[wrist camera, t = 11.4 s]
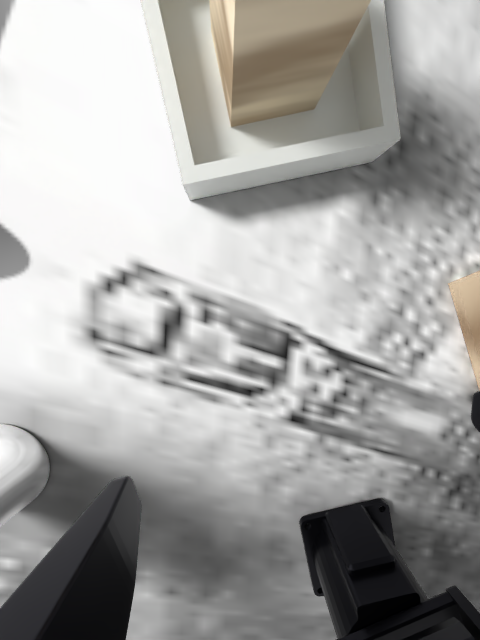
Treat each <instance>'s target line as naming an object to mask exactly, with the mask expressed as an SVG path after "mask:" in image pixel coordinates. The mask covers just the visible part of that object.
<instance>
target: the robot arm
mask: <svg viewBox="0 0 480 640" xmlns="http://www.w3.org/2000/svg"><path fill="white" fill-rule="evenodd" d="M471 420H472V423H473V425H474V426H475V428H476V429H477V430H478V431H479V432H480V391H477V392H475V393H474V395H473V400H472V411H471ZM380 506H382V507H381V508H379V507H380ZM140 520H141V501H140V498H139V495H138V493H137V490H136V488H135V485H134V483H133V480H132V478H131V477H130V476H124V477H120V478H116V479H113V480H111V481H110V482H109V483H108V485H107V486H106V487H105V488H104V489H103V490H102V492H101V493H100V494H99V495H98V496H97V497H96V498H95V500H94V501H93V502H92V503H91V504H90V505H89V506H88V508H87V509H86V510H85V511H84V512H83V513H82V515H81V516H80V517H79V518H78V519H77V520H76V521H75V523H74V524H73V525H72V526H71V527H70V528H69V529H68V531H67V532H66V533H65V534H64V535H63V536H62V538H61V539H60V540H59V541H58V542H57V543H56V544H55V546H54V547H53V548H52V549H51V550H50V551H49V552H48V554H47V555H46V556H45V557H44V558H43V559H42V560H41V562H40V563H39V564H38V565H37V566H36V567H35V569H34V570H33V571H32V572H31V573H30V574H29V575H28V577H27V578H26V579H25V580H24V581H23V582H22V583H21V585H20V586H19V587H18V588H17V589H16V590H15V592H14V593H13V594H12V595H11V596H10V597H9V598H8V600H7V601H6V602H5V603H4V604H3V605H2V606H1V608H0V640H126V635H127V629H128V623H129V617H130V612H131V606H132V600H133V594H134V587H135V579H136V568H137V556H138V544H139V532H140ZM307 523H309V524H308V525H305V524H307ZM299 524H300V529H301V534H302V538H303V543H304V548H305V553H306V558H307V562H308V567H309V572H310V577H311V582H312V587H313V590H314V593H315V595H317V596H324V597H325V600H326V603H327V606H328V609H329V613H330V616H331V619H332V622H333V625H334V629H335V632H336V635H337V638H338V639H336V640H480V613H479V612H478V611H477V610H476V609H475V608H474V606H473V605H472V604H471V603H470V602H469V601H468V600H467V599H466V597H465V596H464V595H463V594H462V593H461V592H460V591H459V589H458V588H457V587H456V586H452V587H450V588H448V589H446V592H444V593H442V594H440V595H438V596H435V597H433V598H431V599H428V598H427V597H426V595H425V594H424V592H423V591H422V589H421V587H420V586H419V584H418V583H417V581H416V579H415V578H414V576H413V575H412V573H411V572H410V570H409V568H408V567H407V565H406V564H405V562H404V561H403V559H402V557H401V556H400V554H399V553H398V551H397V549H396V548H395V544H394V537H393V531H392V524H391V518H390V512H389V507H388V505H387V503H386V502H385V501H384V500H383V499H375V500H371V501H367V502H362V503H358V504H354V505H350V506H345V507H341V508H337V509H332V510H328V511H324V512H320V513H315V514H311V515H307V516H304V517H302V518H301V519H300V521H299Z"/></svg>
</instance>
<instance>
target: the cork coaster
mask: <svg viewBox="0 0 480 640" xmlns="http://www.w3.org/2000/svg"><path fill="white" fill-rule="evenodd" d="M449 288H450V291H451V295H452V298H453V302H454V305H455V309H456V312H457V315H458V319H459V322H460V326H461V329H462V333H463V336H464V339H465V343H466V346H467V350H468V353H469V357H470V360H471V363H472V367H473V370H474V374H475V377H476V381H477V384H478V388H479V391H480V271H478V272H476V273H473V274H471V275H468V276H466V277H463V278H461V279H458V280H456V281H454V282H451V283H449Z"/></svg>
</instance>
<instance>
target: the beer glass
mask: <svg viewBox="0 0 480 640" xmlns="http://www.w3.org/2000/svg"><path fill="white" fill-rule="evenodd" d="M49 473H50V464H49V459H48V456H47V453H46V451H45V449H44V447H43V446H42V444H41V443H40V442H39V441H38V440H37V439H36V438H35V437H34V436H33V435H31V434H30V433H29V432H27V431H25V430H23V429H21V428H19V427H16V426H12V425H6V424H0V528H1V527H2V526H3V525H4V524H5V523H6V522H7V521H8V520H9V519H11V518H12V517H13V516H14V515H16V514H17V513H18V512H19V511H21V510H22V509H23V508H24V507H26V506H27V505H28V504H29V503H31V502H32V501H33V500H34V499H35V498H36V497H37V496H38V495H39V494H40V493H41V492H42V490H43V489H44V487H45V485H46V483H47V481H48V478H49Z"/></svg>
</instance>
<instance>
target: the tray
mask: <svg viewBox="0 0 480 640" xmlns="http://www.w3.org/2000/svg"><path fill="white" fill-rule="evenodd" d="M140 1H141V5H142V10H143V14H144V18H145V23H146V27H147V31H148V36H149V40H150V44H151V49H152V53H153V58H154V62H155V66H156V71H157V75H158V79H159V84H160V88H161V92H162V97H163V101H164V105H165V110H166V114H167V118H168V123H169V127H170V131H171V136H172V140H173V145H174V149H175V153H176V158H177V162H178V166H179V171H180V175H181V179H182V184H183V186H184V189H185V191H186V193H187V195H188V197H189V200H195V199H200V198H204V197H209V196H214V195H219V194H223V193H228V192H233V191H238V190H242V189H247V188H252V187H257V186H261V185H266V184H271V183H276V182H280V181H285V180H290V179H294V178H299V177H304V176H309V175H313V174H318V173H323V172H328V171H332V170H337V169H342V168H347V167H351V166H356V165H361V164H366V163H370V162H373V161H374V160H375V159H377V158H378V157H379V156H380V155H382V154H383V153H384V152H385V151H387V150H388V149H389V148H390V147H392V146H393V145H394V144H395V143H397V142H398V141H399V140H400V139H401V136H400V128H399V120H398V111H397V103H396V95H395V87H394V79H393V71H392V63H391V54H390V46H389V38H388V30H387V22H386V14H385V5H384V0H371V1H370V3H369V5H368V7H367V9H366V11H365V13H364V15H363V17H362V19H361V21H360V23H359V24H358V26H357V28H356V30H355V32H354V34H353V36H352V38H351V40H350V42H349V44H348V46H347V48H346V49H345V51H344V53H343V55H342V57H341V59H340V61H339V63H338V65H337V67H336V69H335V71H334V73H333V75H332V76H331V78H330V80H329V82H328V84H327V86H326V88H325V90H324V92H323V94H322V96H321V98H320V100H319V101H318V103H317V105H316V107H315V109H314V110H309V111H304V112H300V113H295V114H290V115H286V116H281V117H276V118H272V119H267V120H262V121H257V122H253V123H248V124H243V125H239V126H234V127H231V125H230V121H229V116H228V111H227V106H226V101H225V96H224V92H223V87H222V82H221V77H220V72H219V67H218V62H217V58H216V53H215V48H214V43H213V38H212V33H211V21H210V4H209V0H140Z"/></svg>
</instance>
